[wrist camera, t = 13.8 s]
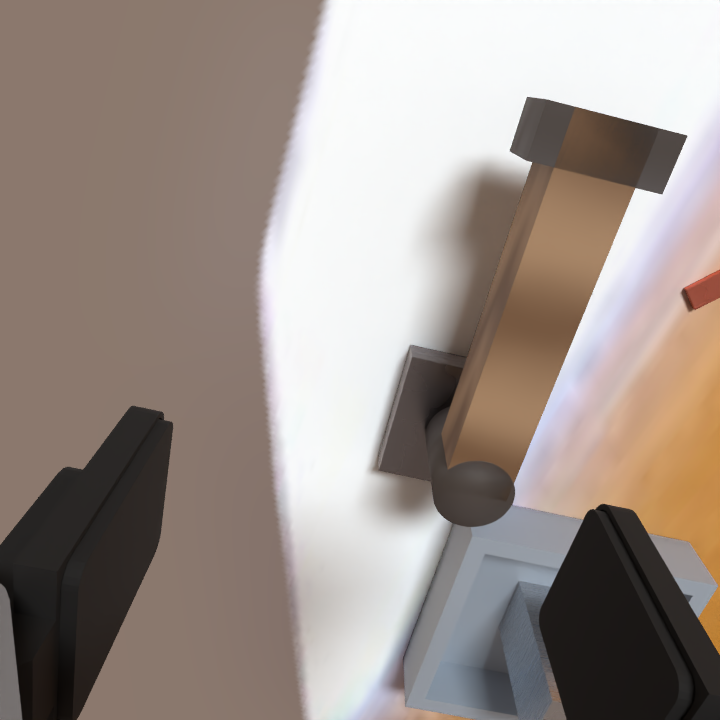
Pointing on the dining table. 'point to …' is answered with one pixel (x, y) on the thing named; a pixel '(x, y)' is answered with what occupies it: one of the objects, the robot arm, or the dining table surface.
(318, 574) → the dining table surface
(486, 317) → the crank
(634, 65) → the dining table surface
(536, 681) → the block
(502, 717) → the tray
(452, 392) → the stand
